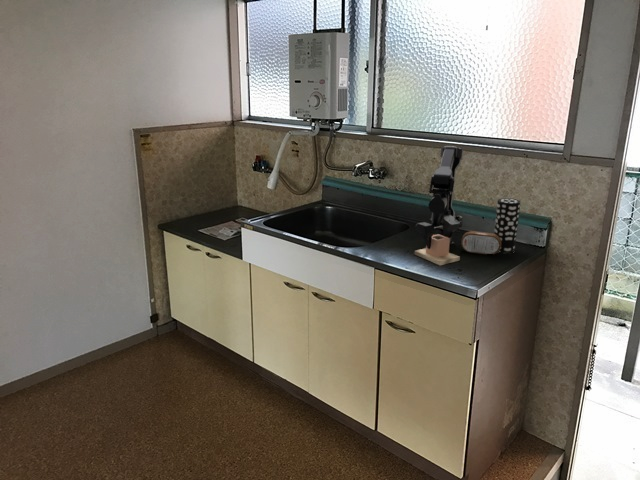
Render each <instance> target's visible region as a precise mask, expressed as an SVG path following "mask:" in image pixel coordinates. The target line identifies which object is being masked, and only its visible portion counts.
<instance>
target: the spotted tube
mask: <svg viewBox="0 0 640 480" xmlns="http://www.w3.org/2000/svg"><path fill="white" fill-rule="evenodd" d="M521 203H522V202H521V200H518V199H515V198H507V197H505V198H504V197H503V198H499V199H497V205H496V211H495V212H496V214H495V221H494V222H495V223H494V230H493V231H494V233H493V234H496V235H497V236H499V238H500V239H501V248H500V250H499V252H512V251H514V250H516V243H517V233H518V228H519V218H520V211H521ZM499 252H498V253H499ZM514 252H515V251H514Z"/></svg>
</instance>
